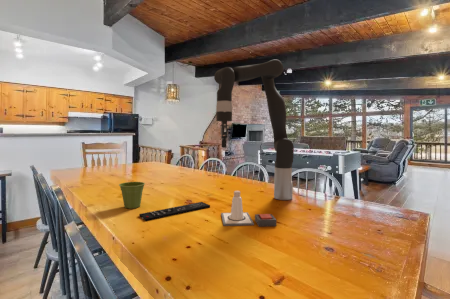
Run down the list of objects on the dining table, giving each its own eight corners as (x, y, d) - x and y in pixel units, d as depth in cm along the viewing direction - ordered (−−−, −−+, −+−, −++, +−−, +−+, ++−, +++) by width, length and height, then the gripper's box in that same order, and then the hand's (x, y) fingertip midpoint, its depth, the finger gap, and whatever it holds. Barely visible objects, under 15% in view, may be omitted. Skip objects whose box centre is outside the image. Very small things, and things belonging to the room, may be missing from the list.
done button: (269, 218, 104) (269, 213, 104) (271, 221, 100) (271, 217, 100) (259, 218, 103) (259, 214, 103) (261, 222, 99) (261, 217, 99)
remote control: (138, 217, 109) (138, 213, 108) (201, 204, 128) (201, 200, 128) (145, 222, 103) (145, 218, 102) (210, 208, 122) (210, 204, 122)
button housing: (271, 219, 105) (271, 213, 105) (276, 226, 98) (276, 219, 98) (254, 220, 105) (255, 214, 105) (258, 226, 98) (258, 220, 98)
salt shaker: (229, 215, 108) (230, 189, 107) (242, 214, 109) (242, 189, 108) (231, 219, 103) (231, 192, 102) (244, 219, 103) (244, 192, 102)
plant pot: (150, 206, 123) (149, 183, 122) (126, 212, 114) (125, 187, 113) (138, 201, 131) (137, 180, 130) (115, 206, 122) (114, 183, 121)
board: (247, 213, 113) (247, 211, 113) (254, 225, 99) (254, 222, 99) (221, 214, 112) (221, 212, 112) (223, 225, 98) (223, 223, 98)
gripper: (215, 112, 126) (215, 146, 127) (217, 109, 113) (216, 148, 114) (230, 112, 127) (230, 146, 128) (233, 110, 114) (233, 148, 115)
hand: (223, 147), depth 121 cm, fingers closed
